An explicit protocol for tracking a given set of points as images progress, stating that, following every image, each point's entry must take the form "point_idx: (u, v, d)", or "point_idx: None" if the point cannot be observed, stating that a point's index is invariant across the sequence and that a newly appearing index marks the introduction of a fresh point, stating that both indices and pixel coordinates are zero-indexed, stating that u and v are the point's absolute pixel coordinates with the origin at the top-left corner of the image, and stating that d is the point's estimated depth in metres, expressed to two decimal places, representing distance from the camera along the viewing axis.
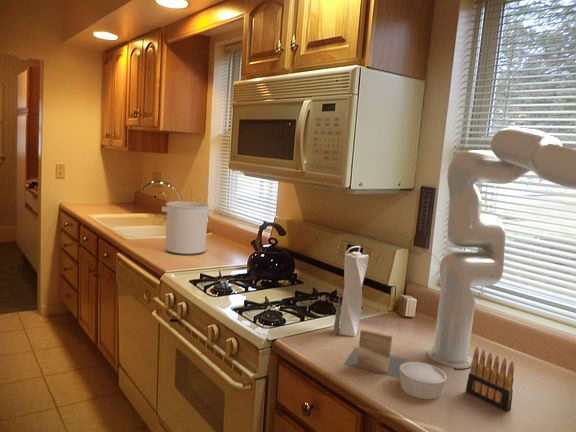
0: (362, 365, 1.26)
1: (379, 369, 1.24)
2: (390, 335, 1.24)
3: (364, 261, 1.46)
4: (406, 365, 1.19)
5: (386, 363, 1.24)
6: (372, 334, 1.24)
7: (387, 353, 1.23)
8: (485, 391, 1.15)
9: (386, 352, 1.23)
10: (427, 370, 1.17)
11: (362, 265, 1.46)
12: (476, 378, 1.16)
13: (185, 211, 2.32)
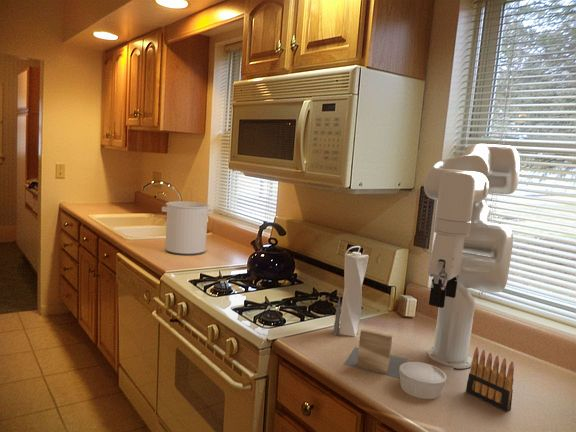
0: (362, 365, 1.26)
1: (379, 369, 1.24)
2: (390, 335, 1.24)
3: (364, 261, 1.46)
4: (406, 365, 1.19)
5: (386, 363, 1.24)
6: (372, 334, 1.24)
7: (387, 353, 1.23)
8: (485, 391, 1.15)
9: (386, 352, 1.23)
10: (427, 370, 1.17)
11: (362, 265, 1.46)
12: (476, 378, 1.16)
13: (185, 211, 2.32)
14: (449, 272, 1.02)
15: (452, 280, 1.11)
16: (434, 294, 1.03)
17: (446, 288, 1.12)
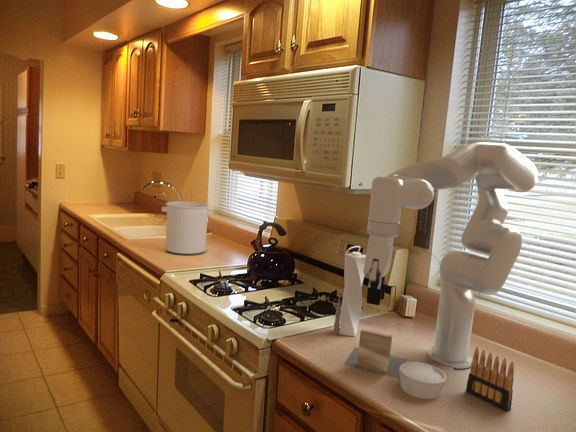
0: (362, 365, 1.26)
1: (379, 369, 1.24)
2: (390, 335, 1.24)
3: (364, 261, 1.46)
4: (406, 365, 1.19)
5: (386, 363, 1.24)
6: (372, 334, 1.24)
7: (387, 353, 1.23)
8: (486, 391, 1.15)
9: (386, 352, 1.23)
10: (427, 370, 1.17)
11: (362, 265, 1.46)
12: (476, 378, 1.16)
13: (185, 211, 2.32)
14: (382, 270, 1.11)
15: (381, 283, 1.18)
16: (371, 293, 1.14)
17: None
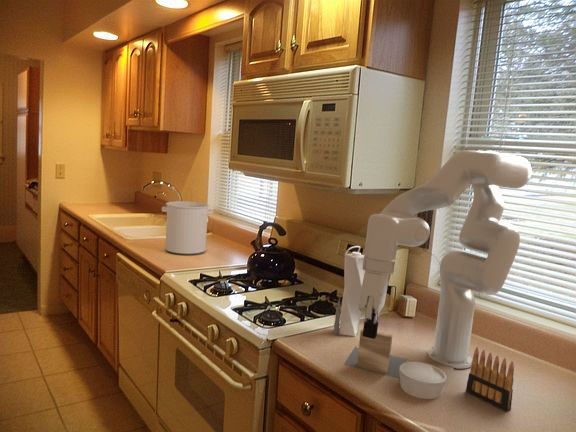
0: (362, 365, 1.26)
1: (379, 369, 1.24)
2: (390, 335, 1.24)
3: None
4: (406, 365, 1.19)
5: (386, 363, 1.24)
6: None
7: (387, 353, 1.23)
8: (485, 391, 1.15)
9: (386, 352, 1.23)
10: (427, 370, 1.17)
11: (362, 265, 1.46)
12: (476, 378, 1.16)
13: (185, 211, 2.32)
14: (377, 307, 1.12)
15: None
16: (367, 327, 1.16)
17: None
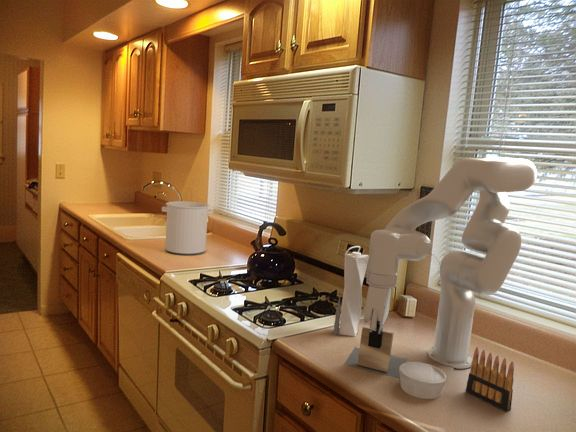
0: (362, 363, 1.26)
1: (379, 367, 1.25)
2: (391, 332, 1.25)
3: (364, 261, 1.46)
4: (406, 365, 1.19)
5: (387, 361, 1.24)
6: None
7: (388, 350, 1.24)
8: (486, 391, 1.15)
9: (387, 349, 1.24)
10: (427, 370, 1.17)
11: (362, 265, 1.46)
12: (476, 378, 1.16)
13: (185, 211, 2.32)
14: (381, 319, 1.17)
15: None
16: (372, 337, 1.22)
17: None
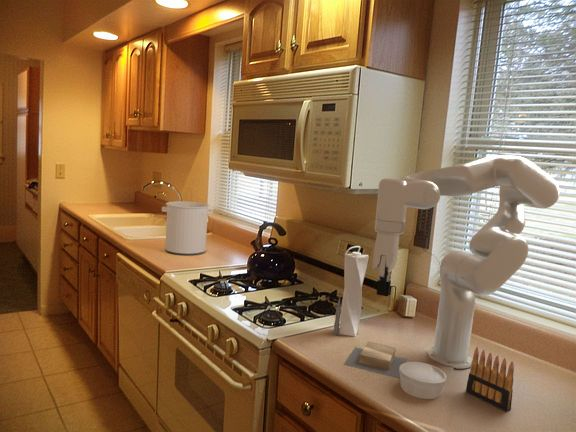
0: (365, 354, 1.29)
1: (382, 358, 1.27)
2: None
3: (364, 261, 1.46)
4: (406, 365, 1.19)
5: (389, 357, 1.28)
6: (378, 344, 1.36)
7: (391, 353, 1.31)
8: (485, 391, 1.15)
9: (390, 352, 1.31)
10: (427, 370, 1.17)
11: (362, 265, 1.46)
12: (476, 378, 1.16)
13: (185, 211, 2.32)
14: (389, 265, 1.19)
15: None
16: (381, 285, 1.24)
17: None
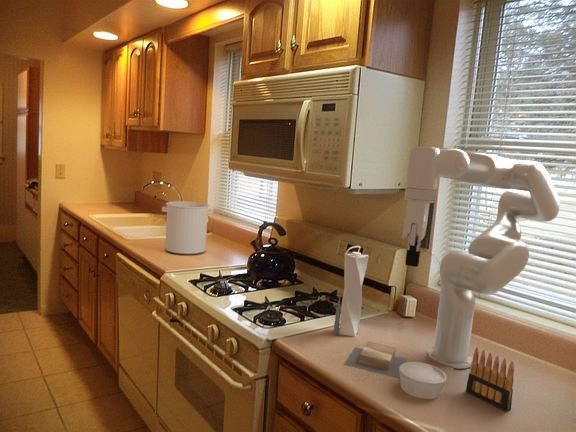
0: (365, 354, 1.29)
1: (382, 358, 1.27)
2: None
3: (364, 261, 1.46)
4: (406, 365, 1.19)
5: (389, 357, 1.28)
6: (378, 344, 1.36)
7: (391, 353, 1.31)
8: (485, 391, 1.15)
9: (390, 352, 1.31)
10: (427, 370, 1.17)
11: (362, 265, 1.46)
12: (476, 378, 1.16)
13: (185, 211, 2.32)
14: (420, 234, 1.17)
15: None
16: (410, 255, 1.22)
17: None
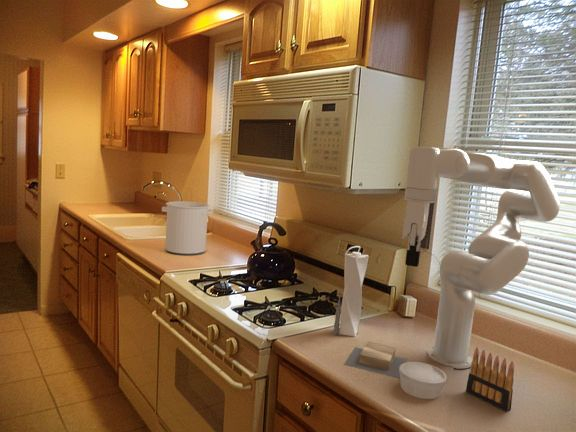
0: (365, 354, 1.29)
1: (382, 358, 1.27)
2: None
3: (364, 261, 1.46)
4: (406, 365, 1.19)
5: (389, 357, 1.28)
6: (378, 344, 1.36)
7: (391, 353, 1.31)
8: (486, 391, 1.15)
9: (390, 352, 1.31)
10: (427, 370, 1.17)
11: (362, 265, 1.46)
12: (476, 378, 1.16)
13: (185, 211, 2.32)
14: (420, 234, 1.17)
15: None
16: (410, 255, 1.22)
17: None
